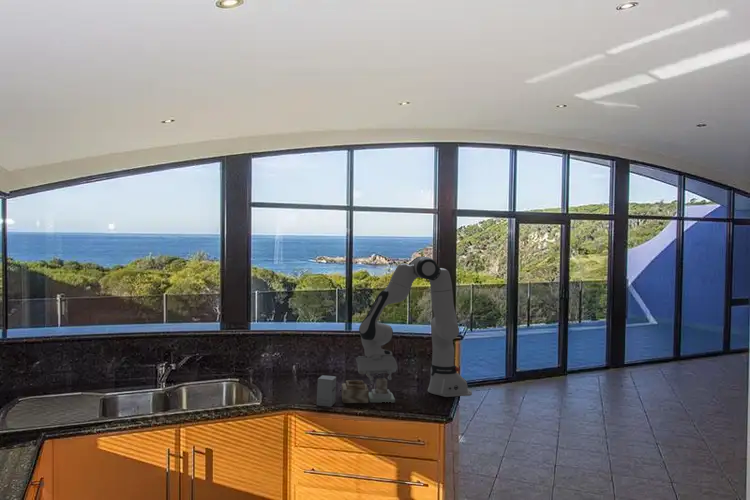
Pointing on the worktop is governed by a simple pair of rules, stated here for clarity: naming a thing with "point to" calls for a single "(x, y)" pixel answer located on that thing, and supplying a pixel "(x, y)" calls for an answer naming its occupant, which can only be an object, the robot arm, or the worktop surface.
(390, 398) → the sage socket plate
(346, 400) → the birch stand
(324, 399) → the supplement box
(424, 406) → the worktop surface
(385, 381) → the cream plug block
